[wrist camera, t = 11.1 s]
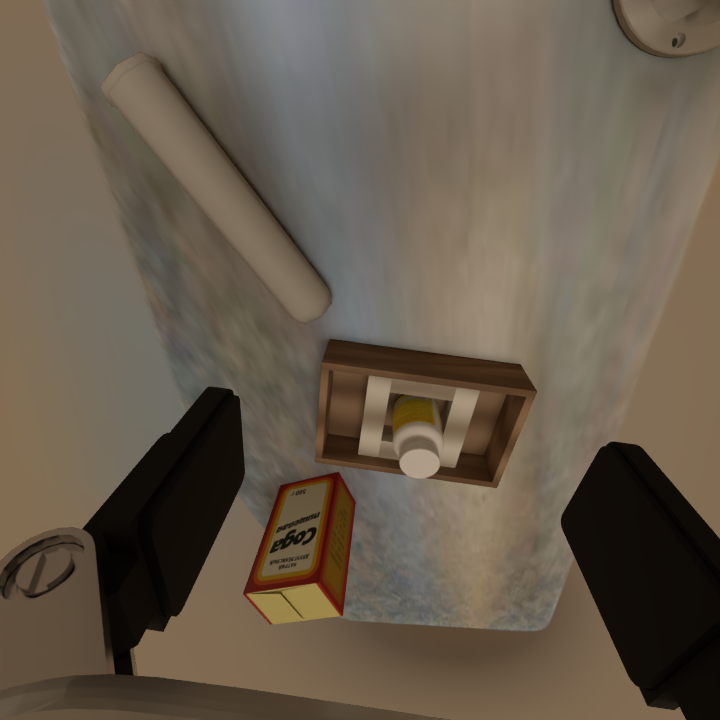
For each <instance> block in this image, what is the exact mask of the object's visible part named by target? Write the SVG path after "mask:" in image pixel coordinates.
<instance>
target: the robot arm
mask: <svg viewBox="0 0 720 720" xmlns="http://www.w3.org/2000/svg"><path fill="white" fill-rule="evenodd" d="M613 5H614V9H615V12H616V15H617V18H618V21H619V24H620V26H621V27H622V29H623V30H624V32H625V33H626V35H627V36H628V38H629V39H630V40H631V41H632V42H633V43H634V44H636V45H637V46H638V47H639V48H640V49H642V50H644V51H646V52H648V53H650V54H653V55H656V56H662V57H667V58H675V57H687V56H691V55H695V54H698V53H702V52H705V51H708V50H710V49H713V48H715V47H718V46H720V0H613ZM672 40H673V41H674V44H673V46H672ZM244 473H245V466H244V452H243V437H242V423H241V409H240V398H239V396H235V395H234V394H233V391H232V390H231V389H225V388H218V387H208V388H206V389H205V391H204V392H203V393H202V394H201V395H200V397H199V398H198V399H197V400H196V401H195V403H194V404H193V405H192V406H191V407H190V409H189V410H188V411H187V412H186V414H185V415H184V416H183V417H182V419H181V420H180V421H179V422H178V424H177V425H176V426H175V427H174V428H173V429H172V431H171V432H170V433H166V434H163V435H162V436H161V437H160V438H159V439H158V440H157V441H156V443H155V444H154V445H153V446H152V447H151V448H150V450H149V451H148V452H147V453H146V454H145V456H144V457H143V458H142V459H141V460H140V461H139V463H138V464H137V465H136V466H135V468H133V470H132V471H131V472H130V473H129V474H128V476H127V477H126V478H125V479H124V480H123V481H122V483H121V484H120V485H119V486H118V488H117V489H116V490H115V491H114V492H113V493H112V494H111V496H110V497H109V498H108V499H107V500H106V502H105V503H104V504H103V505H102V506H101V507H100V509H99V510H98V511H97V512H96V513H95V515H94V516H93V517H92V518H91V519H90V520H89V522H88V523H87V524H86V525H85V526H84V528H83V529H78V528H74V527H68V528H57V529H54V530H50V531H46V532H43V533H41V534H39V535H37V536H34V537H32V538H30V539H28V540H26V541H25V542H23V543H22V544H20V545H19V546H17V547H16V548H14V549H13V550H11V551H10V552H9V553H8V554H7V555H6V556H5V557H4V558H3V559H2V560H1V561H0V720H449V719H442V718H436V717H429V716H423V715H417V714H410V713H404V712H397V711H391V710H384V709H378V708H371V707H364V706H358V705H351V704H344V703H338V702H331V701H324V700H317V699H311V698H304V697H298V696H291V695H284V694H278V693H271V692H265V691H258V690H251V689H244V688H237V687H229V686H221V685H213V684H206V683H197V682H190V681H182V680H175V679H167V678H159V677H145V676H138V674H137V668H136V662H135V655H134V649H133V648H134V647H135V646H137V645H138V644H139V642H140V639H141V638H142V636H143V634H144V632H145V630H146V629H149V630H155V631H162V632H164V629H165V627H166V625H167V623H168V621H169V619H170V617H171V616H177V615H178V614H179V613H180V612H181V611H182V609H183V607H184V605H185V603H186V601H187V598H188V596H189V594H190V592H191V590H192V588H193V586H194V584H195V582H196V579H197V577H198V575H199V573H200V571H201V569H202V566H203V565H204V563H205V560H206V558H207V556H208V554H209V552H210V550H211V547H212V545H213V544H214V541H215V539H216V537H217V535H218V533H219V531H220V529H221V527H222V524H223V522H224V520H225V518H226V516H227V514H228V512H229V510H230V508H231V506H232V503H233V501H234V499H235V497H236V495H237V493H238V491H239V489H240V487H241V484H242V482H243V479H244ZM561 526H562V529H563V532H564V534H565V536H566V539H567V541H568V543H569V545H570V547H571V550H572V552H573V554H574V556H575V559H576V561H577V563H578V565H579V567H580V570H581V572H582V574H583V576H584V578H585V581H586V583H587V585H588V587H589V590H590V592H591V594H592V596H593V598H594V601H595V603H596V605H597V607H598V609H599V612H600V614H601V616H602V618H603V621H604V623H605V625H606V627H607V629H608V632H609V634H610V636H611V638H612V640H613V643H614V645H615V647H616V649H617V652H618V653H619V656H620V658H621V660H622V663H623V665H624V667H625V669H626V671H627V674H628V676H629V677H630V679H631V680H632V682H633V683H634V684H635V685H636V686H638V687H639V688H640V691H641V692H642V695H643V697H644V699H645V701H646V704H647V706H651V707H658V708H664V709H671V710H675V709H676V708H678V707H680V708H681V710H682V712H683V714H684V716H685V718H686V720H720V539H719V537H718V536H717V535H716V534H715V533H714V531H713V530H712V529H711V528H710V527H709V526H708V524H707V523H706V522H705V521H704V520H703V519H702V517H701V516H700V515H699V514H698V513H697V512H696V510H695V509H694V508H693V507H692V506H691V505H690V503H689V502H688V501H687V500H686V499H685V498H684V496H683V495H682V494H681V493H680V492H679V490H678V489H677V488H676V487H675V486H674V485H673V483H672V482H671V481H670V480H669V479H668V478H667V477H666V475H665V474H664V473H663V472H662V471H661V469H660V468H659V467H658V466H657V465H656V464H655V462H654V461H653V460H652V459H651V458H650V457H649V455H648V454H647V453H646V452H645V451H644V450H643V449H642V448H641V447H640V446H638V445H635V444H627V443H621V442H610V443H608V444H607V445H606V446H603V447H601V448H600V450H599V451H598V453H597V455H596V456H595V458H594V460H593V462H592V463H591V465H590V467H589V469H588V470H587V472H586V474H585V476H584V477H583V479H582V481H581V483H580V484H579V486H578V488H577V490H576V491H575V493H574V495H573V497H572V498H571V500H570V502H569V504H568V505H567V507H566V509H565V511H564V512H563V514H562V517H561Z"/></svg>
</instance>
